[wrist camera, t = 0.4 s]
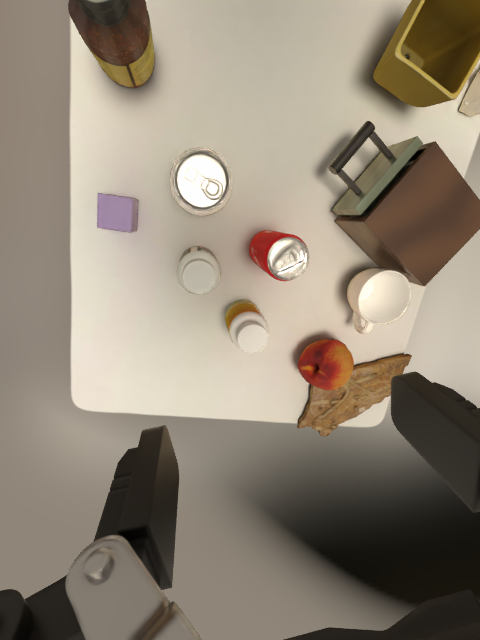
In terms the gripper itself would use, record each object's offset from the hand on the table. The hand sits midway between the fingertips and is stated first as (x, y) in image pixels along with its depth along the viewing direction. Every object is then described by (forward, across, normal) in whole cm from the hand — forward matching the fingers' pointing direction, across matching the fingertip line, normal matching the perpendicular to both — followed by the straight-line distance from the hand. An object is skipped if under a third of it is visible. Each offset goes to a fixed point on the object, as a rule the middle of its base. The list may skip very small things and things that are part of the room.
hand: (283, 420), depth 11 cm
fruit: (+37, -14, +18) cm, 43 cm away
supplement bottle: (+37, -2, +9) cm, 38 cm away
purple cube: (+37, +11, -8) cm, 40 cm away
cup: (+37, -21, +9) cm, 43 cm away
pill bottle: (+37, +3, 0) cm, 37 cm away
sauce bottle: (+37, +6, -25) cm, 45 cm away
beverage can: (+37, -7, 0) cm, 38 cm away
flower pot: (+37, -27, -20) cm, 50 cm away
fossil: (+40, -19, +31) cm, 54 cm away
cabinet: (+37, -26, -2) cm, 45 cm away
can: (+37, 0, -10) cm, 38 cm away
